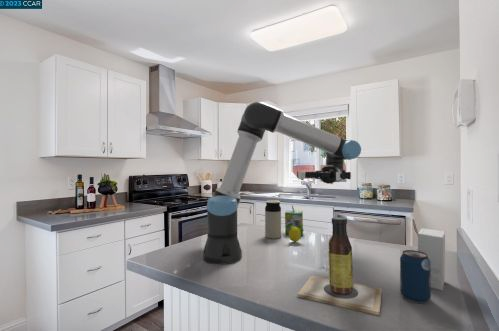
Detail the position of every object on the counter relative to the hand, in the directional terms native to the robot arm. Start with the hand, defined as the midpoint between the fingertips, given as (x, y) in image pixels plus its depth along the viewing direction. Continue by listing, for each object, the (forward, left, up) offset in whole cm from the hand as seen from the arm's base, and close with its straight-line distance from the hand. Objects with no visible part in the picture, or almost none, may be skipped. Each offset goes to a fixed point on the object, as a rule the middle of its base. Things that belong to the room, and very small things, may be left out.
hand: (317, 175), depth 97 cm
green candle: (-23, +41, -32) cm, 57 cm away
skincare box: (+34, +1, -32) cm, 47 cm away
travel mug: (-30, +29, -32) cm, 53 cm away
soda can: (+29, -12, -32) cm, 45 cm away
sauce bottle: (+11, -19, -31) cm, 38 cm away
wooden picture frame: (+11, -19, -32) cm, 39 cm away
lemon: (-17, +24, -32) cm, 44 cm away
